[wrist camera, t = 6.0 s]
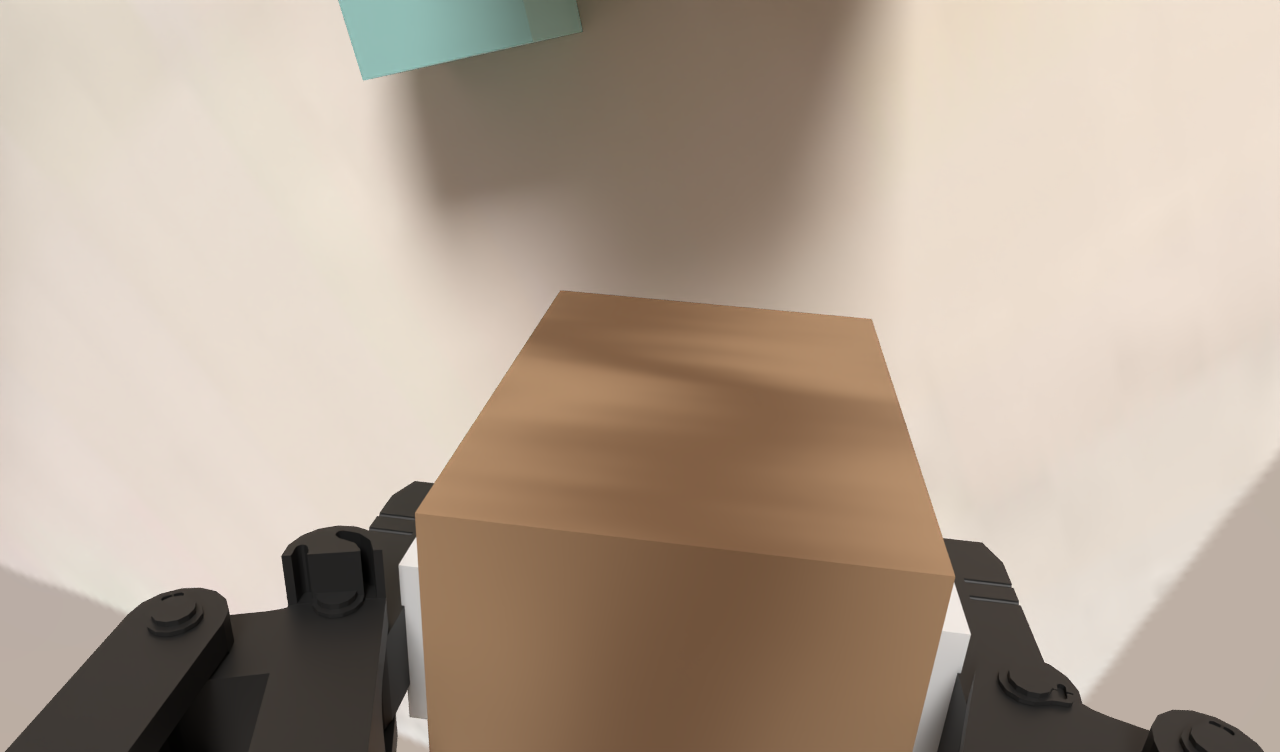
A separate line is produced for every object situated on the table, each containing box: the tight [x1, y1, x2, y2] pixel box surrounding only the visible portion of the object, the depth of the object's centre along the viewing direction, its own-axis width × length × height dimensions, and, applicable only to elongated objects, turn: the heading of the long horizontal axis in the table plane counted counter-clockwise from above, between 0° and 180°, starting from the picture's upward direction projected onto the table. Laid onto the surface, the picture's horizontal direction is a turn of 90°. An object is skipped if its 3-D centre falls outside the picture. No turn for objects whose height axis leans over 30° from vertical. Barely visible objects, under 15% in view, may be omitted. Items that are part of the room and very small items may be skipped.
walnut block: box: [415, 291, 955, 752], centre depth 15 cm, size 6×6×8 cm
